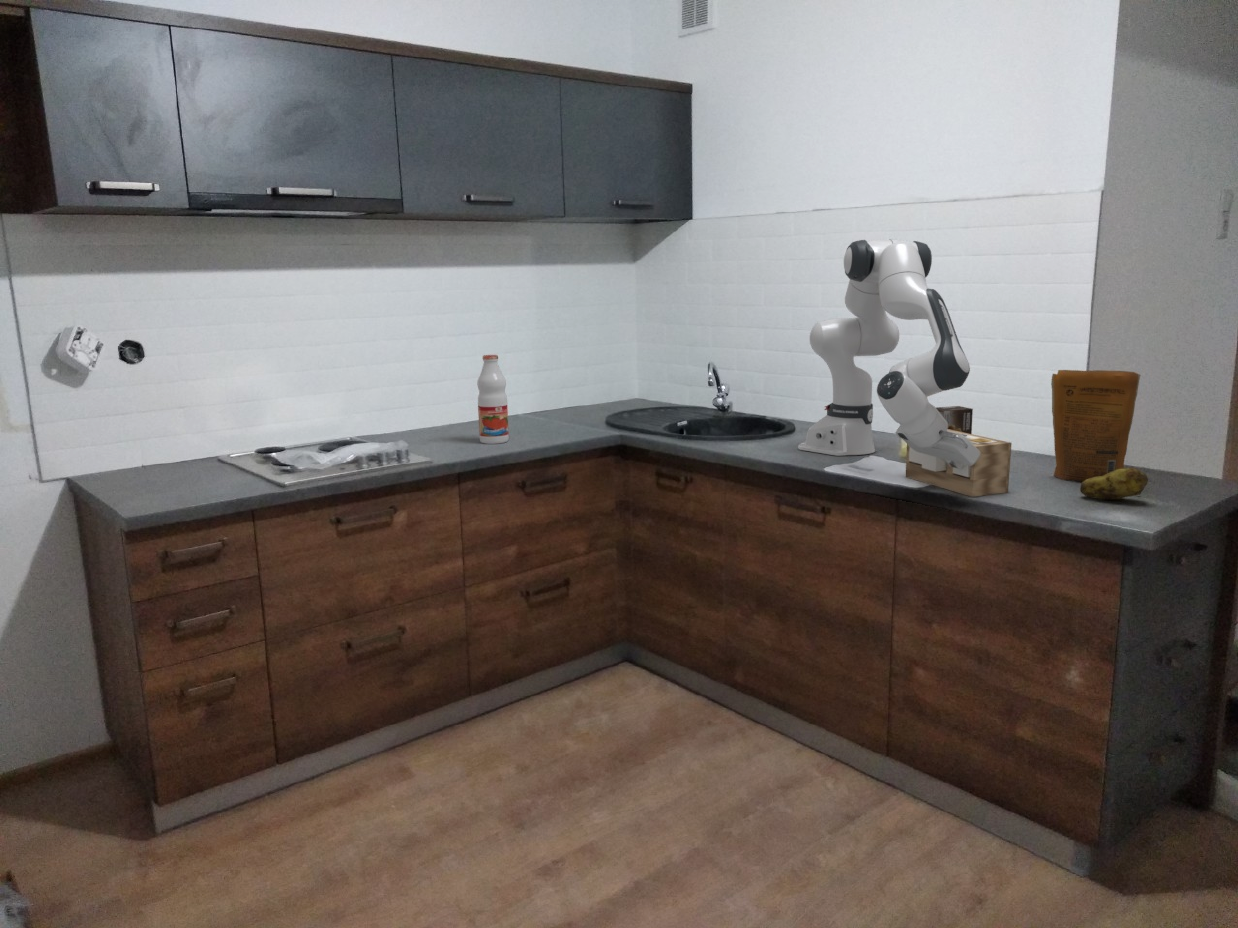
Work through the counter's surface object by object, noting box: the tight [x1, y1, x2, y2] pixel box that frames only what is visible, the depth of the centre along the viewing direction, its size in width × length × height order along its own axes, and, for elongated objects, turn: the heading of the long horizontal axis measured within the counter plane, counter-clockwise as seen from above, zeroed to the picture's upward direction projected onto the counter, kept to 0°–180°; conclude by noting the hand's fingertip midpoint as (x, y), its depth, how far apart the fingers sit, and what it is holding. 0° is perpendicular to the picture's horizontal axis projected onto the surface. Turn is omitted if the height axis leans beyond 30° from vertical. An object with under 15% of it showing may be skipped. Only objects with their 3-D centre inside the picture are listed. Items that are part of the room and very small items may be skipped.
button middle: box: [922, 453, 947, 472], centre depth 224 cm, size 9×5×5 cm, turn 112°
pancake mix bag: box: [1050, 369, 1141, 483], centre depth 224 cm, size 7×19×28 cm, turn 47°
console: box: [904, 429, 1013, 498], centre depth 226 cm, size 11×24×12 cm, turn 22°
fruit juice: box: [477, 354, 510, 445], centre depth 294 cm, size 9×9×28 cm
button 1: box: [909, 447, 922, 464], centre depth 233 cm, size 9×5×5 cm, turn 112°
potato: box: [1079, 467, 1149, 500], centre depth 208 cm, size 8×13×8 cm, turn 37°
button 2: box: [953, 464, 971, 477], centre depth 218 cm, size 9×5×5 cm, turn 112°
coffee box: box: [935, 405, 974, 434], centre depth 246 cm, size 9×6×16 cm
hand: (957, 465), depth 216 cm, fingers closed
